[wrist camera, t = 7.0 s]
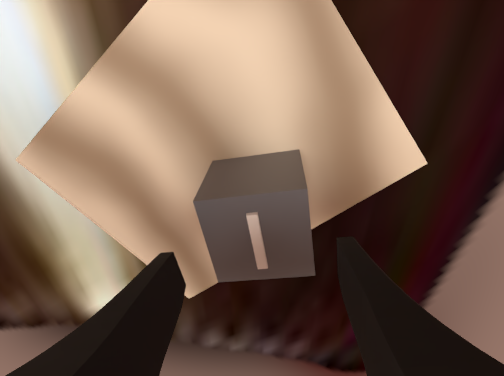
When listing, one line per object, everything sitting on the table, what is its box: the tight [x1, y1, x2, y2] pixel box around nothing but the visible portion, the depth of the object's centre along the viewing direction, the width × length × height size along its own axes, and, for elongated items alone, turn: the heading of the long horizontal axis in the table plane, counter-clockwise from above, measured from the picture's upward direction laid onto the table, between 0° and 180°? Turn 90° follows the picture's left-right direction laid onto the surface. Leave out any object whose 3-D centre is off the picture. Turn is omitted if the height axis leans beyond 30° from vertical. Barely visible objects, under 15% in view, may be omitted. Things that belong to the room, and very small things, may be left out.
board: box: [16, 0, 427, 299], centre depth 17 cm, size 19×15×2 cm
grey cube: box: [193, 149, 315, 282], centre depth 15 cm, size 5×5×5 cm
